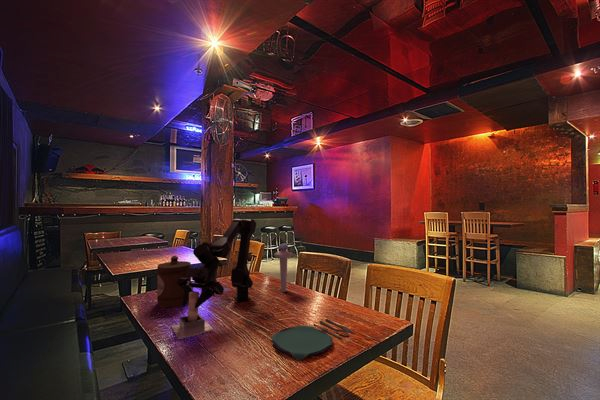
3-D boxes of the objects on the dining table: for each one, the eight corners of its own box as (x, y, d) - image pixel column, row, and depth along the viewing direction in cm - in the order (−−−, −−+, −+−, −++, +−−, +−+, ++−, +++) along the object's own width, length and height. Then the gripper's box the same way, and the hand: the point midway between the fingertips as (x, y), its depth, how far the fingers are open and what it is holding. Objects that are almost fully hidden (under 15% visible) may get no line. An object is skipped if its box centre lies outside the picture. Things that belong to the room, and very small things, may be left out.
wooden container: (160, 298, 142) (160, 254, 142) (192, 295, 146) (192, 252, 146) (154, 309, 128) (154, 259, 128) (189, 306, 132) (189, 258, 132)
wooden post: (188, 325, 109) (190, 291, 110) (198, 325, 110) (200, 291, 110) (185, 328, 106) (188, 293, 107) (195, 328, 106) (197, 294, 107)
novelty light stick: (287, 295, 146) (287, 246, 146) (270, 292, 151) (270, 245, 151) (296, 289, 155) (296, 243, 155) (280, 287, 160) (280, 242, 160)
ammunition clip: (231, 278, 179) (231, 259, 179) (233, 277, 180) (233, 258, 181) (241, 281, 172) (241, 261, 172) (243, 281, 173) (243, 261, 173)
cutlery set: (261, 341, 98) (261, 335, 98) (324, 320, 117) (324, 314, 117) (297, 368, 83) (297, 360, 83) (363, 339, 102) (363, 332, 102)
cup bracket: (171, 327, 109) (171, 317, 109) (203, 320, 116) (203, 310, 116) (178, 340, 99) (178, 328, 99) (213, 331, 106) (213, 320, 106)
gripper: (180, 257, 115) (157, 293, 104) (219, 260, 108) (199, 299, 98) (193, 272, 122) (174, 307, 112) (231, 276, 115) (214, 314, 105)
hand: (189, 306), depth 106 cm, fingers open, 5 cm apart
